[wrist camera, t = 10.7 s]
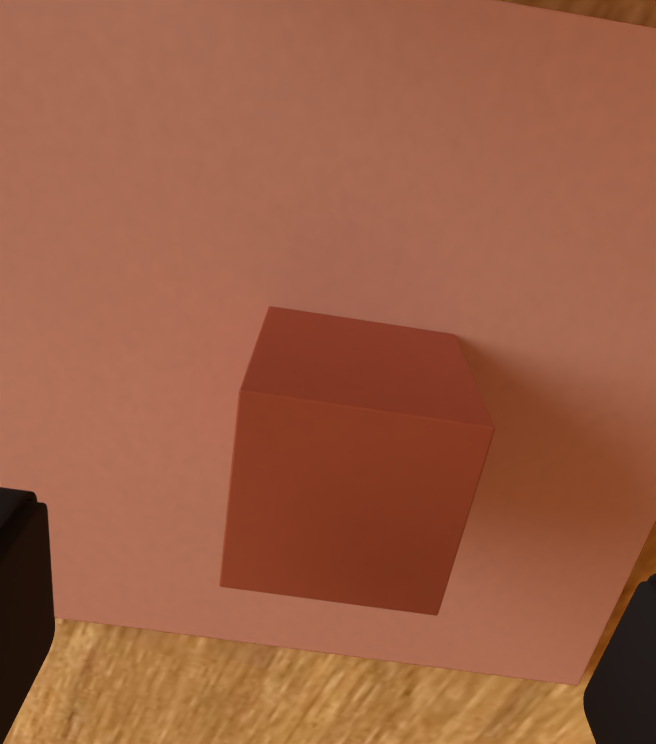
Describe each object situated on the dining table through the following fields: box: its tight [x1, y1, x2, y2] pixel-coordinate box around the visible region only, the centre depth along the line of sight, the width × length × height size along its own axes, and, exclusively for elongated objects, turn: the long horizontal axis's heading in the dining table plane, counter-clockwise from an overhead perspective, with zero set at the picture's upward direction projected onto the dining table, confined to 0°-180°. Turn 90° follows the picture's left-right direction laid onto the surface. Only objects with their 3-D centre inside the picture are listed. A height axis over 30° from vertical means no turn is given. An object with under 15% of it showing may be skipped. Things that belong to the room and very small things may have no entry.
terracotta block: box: [219, 306, 495, 616], centre depth 15 cm, size 5×5×5 cm
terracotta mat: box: [0, 0, 656, 686], centre depth 18 cm, size 20×20×1 cm
